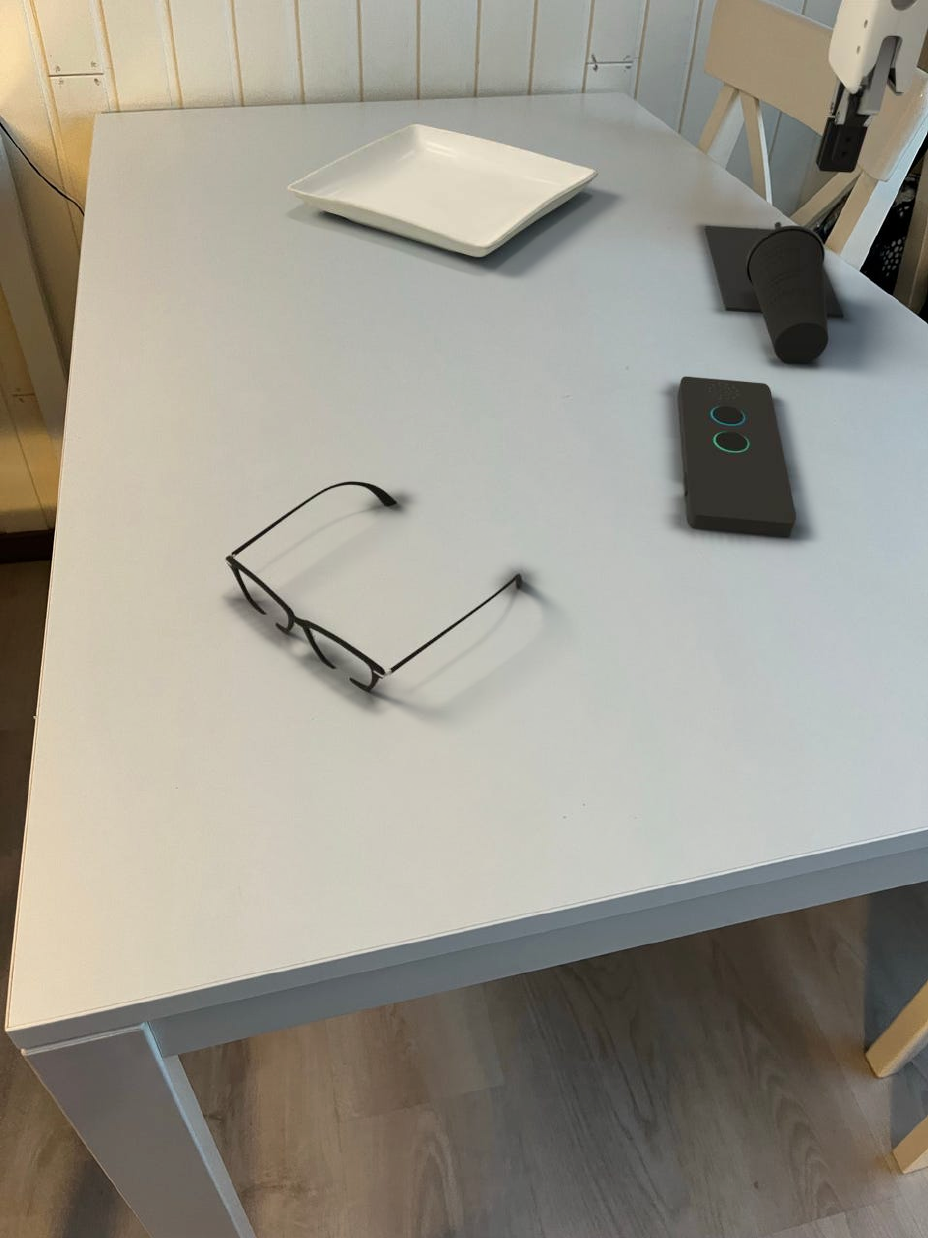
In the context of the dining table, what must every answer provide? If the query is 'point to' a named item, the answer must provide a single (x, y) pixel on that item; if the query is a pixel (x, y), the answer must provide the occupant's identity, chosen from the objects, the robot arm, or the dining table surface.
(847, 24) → the robot arm
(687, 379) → the smart home device
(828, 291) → the mat
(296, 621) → the eyeglasses
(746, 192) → the dining table surface
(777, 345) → the drinking cup
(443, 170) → the square plate
